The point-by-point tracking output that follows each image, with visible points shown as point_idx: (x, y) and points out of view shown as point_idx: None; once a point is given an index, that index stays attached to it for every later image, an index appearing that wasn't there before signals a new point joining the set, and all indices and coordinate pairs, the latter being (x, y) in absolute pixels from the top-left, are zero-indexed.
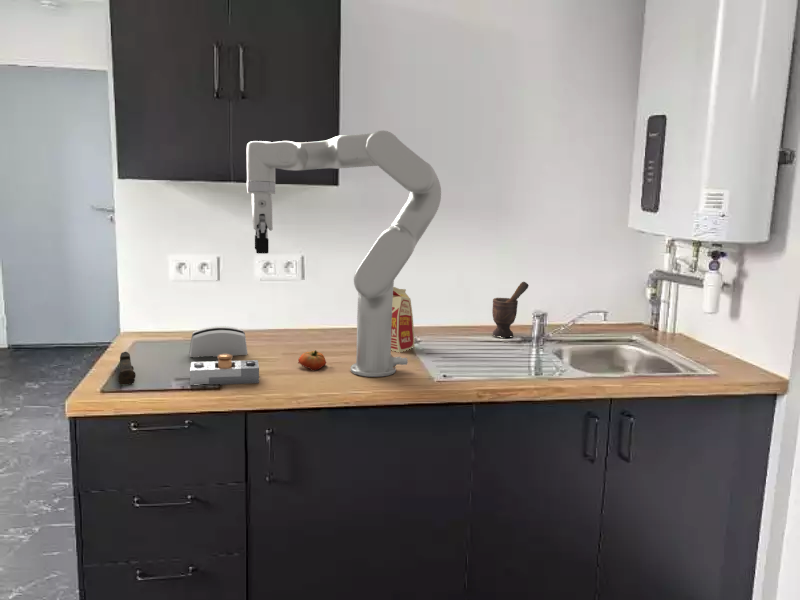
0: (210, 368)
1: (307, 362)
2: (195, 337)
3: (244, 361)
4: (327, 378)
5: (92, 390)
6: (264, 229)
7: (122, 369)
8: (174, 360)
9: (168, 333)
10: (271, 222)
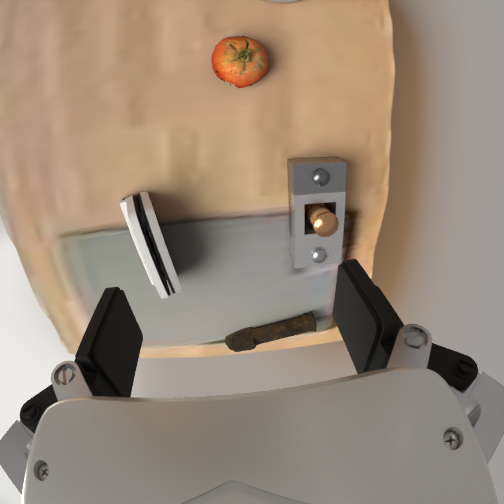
0: (336, 237)
1: (266, 70)
2: (180, 289)
3: (301, 188)
4: (319, 45)
5: (326, 335)
6: (483, 376)
7: (303, 332)
8: (195, 292)
9: (57, 318)
10: (470, 425)
